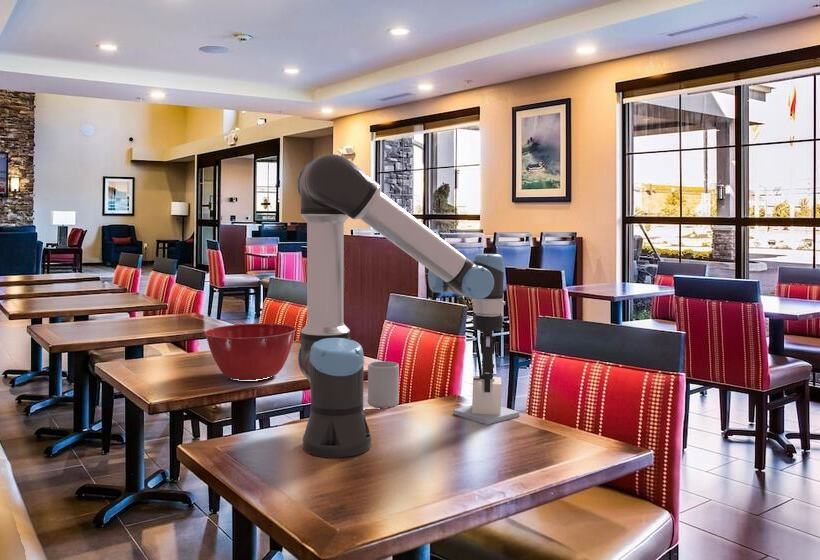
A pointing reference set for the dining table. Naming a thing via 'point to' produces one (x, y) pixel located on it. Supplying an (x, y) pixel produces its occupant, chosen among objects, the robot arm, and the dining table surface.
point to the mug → (383, 384)
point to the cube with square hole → (477, 394)
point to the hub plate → (486, 415)
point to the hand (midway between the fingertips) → (486, 398)
